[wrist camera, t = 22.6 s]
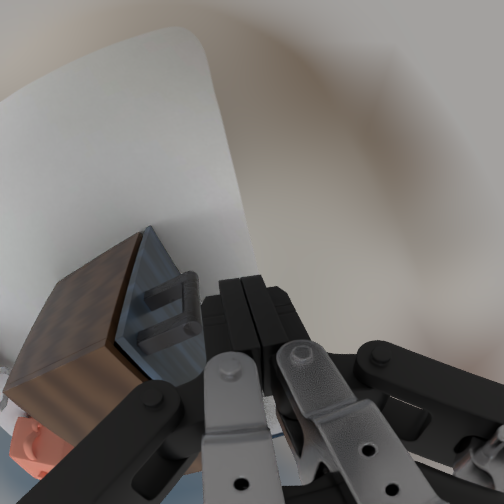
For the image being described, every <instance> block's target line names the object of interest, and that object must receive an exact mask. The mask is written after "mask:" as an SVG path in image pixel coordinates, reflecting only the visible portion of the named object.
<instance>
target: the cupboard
mask: <svg viewBox="0 0 504 504" xmlns="http://www.w3.org/2000/svg"><path fill="white" fill-rule="evenodd" d="M142 238H143V236H142V235H141V233H140V232H138V233H136V234H134V235H133V236H131V237H129V238H128V239H126V240H124V241H123V242H121V243H119V244H118V245H116V246H114V247H113V248H111V249H109V250H108V251H106V252H104V253H103V254H101V255H100V256H98V257H96V258H95V259H93V260H92V261H90V262H88V263H87V264H85V265H84V266H82V267H81V268H79V269H77V270H76V271H74V272H73V273H71V274H70V275H68V276H67V277H65V278H64V279H62V280H61V281H59V282H58V283H57V284H56V286H55V287H54V289H53V291H52V292H51V294H50V296H49V298H48V299H47V301H46V303H45V305H44V306H43V308H42V310H41V312H40V314H39V315H38V317H37V319H36V321H35V323H34V325H33V327H32V329H31V331H30V333H29V335H28V337H27V339H26V341H25V343H24V345H23V347H22V349H21V351H20V353H19V355H18V357H17V359H16V362H15V364H14V366H13V368H12V370H11V373H10V375H9V377H8V380H7V382H6V385H5V387H4V389H3V393H4V394H5V395H6V396H7V397H8V398H9V399H11V400H12V401H13V402H14V403H15V404H16V405H18V406H19V407H20V408H21V409H23V410H24V411H25V412H26V413H28V414H29V415H30V416H31V417H33V418H34V419H35V420H37V421H38V422H39V423H41V424H42V425H43V426H45V427H46V428H47V429H49V430H50V431H52V432H53V433H54V434H56V435H57V436H59V437H60V438H62V439H63V440H65V441H66V442H68V443H69V444H71V445H72V446H74V447H75V446H76V445H77V444H78V443H79V442H80V441H82V440H83V439H84V438H85V437H86V436H87V435H88V434H89V433H90V432H91V431H92V430H93V429H94V428H95V427H96V426H97V425H98V424H99V423H100V422H101V421H102V420H103V419H104V418H105V417H106V416H107V415H108V414H109V413H110V412H111V411H112V410H113V409H114V408H115V407H116V406H117V405H118V404H119V403H120V402H121V401H122V400H123V399H124V398H125V397H126V396H127V395H128V394H129V393H130V392H131V391H132V390H133V389H134V388H135V387H137V386H138V385H139V384H141V383H143V382H146V381H150V380H153V379H152V378H151V377H149V376H148V375H147V374H146V373H145V372H144V370H143V369H142V368H141V367H140V366H139V365H138V364H137V363H136V362H135V361H134V360H133V359H132V358H131V357H130V356H129V355H128V354H127V353H126V352H125V351H124V350H123V348H122V347H121V346H120V345H119V344H118V343H117V342H116V341H115V337H116V333H117V328H118V324H119V320H120V316H121V312H122V308H123V304H124V300H125V296H126V293H127V289H128V285H129V282H130V278H131V274H132V271H133V267H134V264H135V261H136V257H137V254H138V251H139V248H140V244H141V241H142ZM199 471H202V456H201V452H199V454H198V456H197V458H196V459H195V460H194V462H193V463H192V464H191V466H190V467H189V468H188V470H187V471H186V472H185V473H184V475H186V474H191V473H195V472H199Z"/></svg>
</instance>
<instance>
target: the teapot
mask: <svg viewBox="0 0 504 504" xmlns="http://www.w3.org/2000/svg"><path fill="white" fill-rule="evenodd" d="M73 448H74V446H72V445H71V444H69V443H68V442H66V441H65V440H63V439H62V438H60V437H59V436H57V435H56V434H54V433H53V432H52V431H50V430H49V429H47V428H46V427H45V426H43V425H42V424H41V423H39V422H38V421H37V420H35V419H34V418H33V417H30V418H25V417H18V419H17V422H16V424H15V428H14V431H13V436H12V440H11V446H10V453H9V456H10V457H11V458H12V459H13V460H14V461H15V462H16V463H17V464H19V465H20V466H21V467H22V468H23V469H24V470H26V471H27V472H28V473H29V474H30V475H32V476H33V477H34V478H36V479H39V480H41V479H42V478H43V477H44V476H45V475H46V474H48V473H49V472H50V471H51V470H52V469H53V468H54V467H55V466H56V465H57V464H58V463H59V462H60V461H61V460H62V459H63V458H64V457H65V456H66V455H67V454H68V453H69V452H70V451H71V450H72V449H73Z"/></svg>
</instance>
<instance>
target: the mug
mask: <svg viewBox="0 0 504 504" xmlns="http://www.w3.org/2000/svg"><path fill="white" fill-rule="evenodd" d="M0 373H4V374H8V375H10V373H11V371H10V370H9V369H8V368H7V367H2V366H0ZM7 402H8V397H7V396H6V395H5V394H4V395H3V399H2V401H1V402H0V411H2V410H3V409H4V408H5V407H6V405H7Z"/></svg>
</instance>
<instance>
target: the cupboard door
mask: <svg viewBox="0 0 504 504" xmlns="http://www.w3.org/2000/svg"><path fill="white" fill-rule="evenodd" d="M115 341H116V342H117V343H118V344H119V345H120V346H121V347H122V348H123V350H124V351H125V352H126V353H127V354H128V355H129V356H130V357H131V358H132V359H133V360H134V361H135V362H136V363H137V364H138V365H139V366H140V367H141V368H142V369H143V370H144V372H145V373H146V374H147V375H148V376H149V377H151V378H152V379H153V380H163V381H167V382H169V383H171V384H173V385H174V386H175V387H177V386H179V385H182V384H184V383H187V382H189V381H191V380H193V379H195V378H196V377H197V376H198V375H200V373H201V372H202V371H203V369H204V368H205V365H206V351H205V342H204V333H203V323H202V313H201V305H200V295H199V284H198V276H197V274H196V273H195V272H193V271H188V272H185V273H183V274H180V273H179V271H178V269H177V268H176V266H175V265H174V263H173V262H172V260H171V258H170V257H169V255H168V253H167V252H166V250H165V249H164V247H163V245H162V244H161V242H160V240H159V239H158V237H157V235H156V234H155V232H154V230H153V229H152V227H151V226H149V227H147V228H146V229H145V232H144V235H143V238H142V241H141V244H140V248H139V251H138V254H137V257H136V261H135V264H134V267H133V271H132V274H131V278H130V282H129V285H128V289H127V293H126V296H125V300H124V304H123V308H122V312H121V316H120V320H119V324H118V328H117V333H116V337H115Z"/></svg>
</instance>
